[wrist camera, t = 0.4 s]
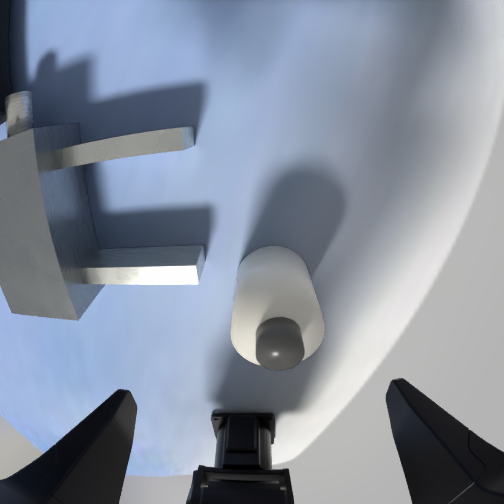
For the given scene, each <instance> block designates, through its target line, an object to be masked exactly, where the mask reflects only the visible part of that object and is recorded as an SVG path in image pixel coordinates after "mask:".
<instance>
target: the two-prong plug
mask: <svg viewBox="0 0 504 504" xmlns="http://www.w3.org/2000/svg"><path fill="white" fill-rule="evenodd" d="M5 108H6V127H7V139H4V140H2V141H0V286H1V288H2V291H3V293H4V296H5V298H6V300H7V303H8V305H9V307H10V310H11V312H12V313H15V314H23V315H31V316H39V317H48V318H58V319H68V320H79V319H80V318H81V316H82V315H83V313H84V312H85V311H86V309H87V308H88V307H89V305H90V304H91V303H92V301H93V300H94V299H95V297H96V296H97V295H98V293H99V292H100V291H101V289H102V288H103V287H104V286H105V284H198V283H199V280H200V277H201V274H202V271H203V267H204V264H205V253H204V245H187V246H162V247H138V248H115V249H99V248H98V244H97V240H96V235H95V231H94V226H93V221H92V216H91V211H90V206H89V200H88V195H87V189H86V182H85V176H84V169H83V165H84V164H89V163H94V162H100V161H106V160H112V159H118V158H125V157H131V156H139V155H146V154H154V153H162V152H171V151H181V150H185V149H188V148H190V147H192V146H195V144H194V129H193V126H191V127H180V128H172V129H164V130H156V131H149V132H143V133H136V134H130V135H124V136H119V137H113V138H108V139H103V140H98V141H93V142H89V143H84V144H80V134H79V123H70V124H61V125H53V126H45V127H38V128H33V115H32V91H21V92H17V93H14V94H11V95H9V96H7V97H6V98H5Z"/></svg>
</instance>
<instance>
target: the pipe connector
mask: <svg viewBox="0 0 504 504" xmlns="http://www.w3.org/2000/svg"><path fill="white" fill-rule="evenodd" d="M9 12H10V0H0V125H1V124H2V123H4V122H5V121H6V108H5V98H6V97H7V96H9V95H11V94H12V93H11V83H10V69H9Z"/></svg>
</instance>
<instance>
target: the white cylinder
mask: <svg viewBox="0 0 504 504" xmlns="http://www.w3.org/2000/svg"><path fill="white" fill-rule="evenodd" d="M324 335H325V322H324V319H323V316H322V313H321V309H320V306H319V303H318V300H317V297H316V294H315V291H314V288H313V285H312V282H311V279H310V276H309V273H308V270H307V267H306V264H305V262H304V261H303V259H302V258H301V257H300V256H299V255H298V254H297V253H296V252H294V251H292V250H290V249H288V248H285V247H281V246H266V247H262V248H259V249H256V250H254V251H253V252H251V253H250V254H248V255H247V256H246V257H245V258H244V259H243V260H242V262H241V263H240V265H239V267H238V270H237V275H236V285H235V294H234V304H233V313H232V323H231V340H232V343H233V345H234V347H235V349H236V350H237V352H238V353H239V354H240V355H241V356H242V357H244V358H245V359H247V360H248V361H250V362H252V363H255V364H257V365H261V366H263V367H264V368H267V369H269V370H274V371H282V370H287V369H290V368H293V367H295V366H296V365H298V364H299V363H300V362H301V361H303V360H305V359H306V358H308V357H309V356H310V355H312V354H313V353H314V352H315V351H316V350H317V349H318V347H319V346H320V344H321V343H322V341H323V338H324Z"/></svg>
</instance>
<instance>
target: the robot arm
mask: <svg viewBox="0 0 504 504" xmlns="http://www.w3.org/2000/svg"><path fill="white" fill-rule="evenodd" d="M386 403H387V408H388V413H389V418H390V423H391V429H392V433H393V438H394V441H395V444H396V448H397V451H398V454H399V457H400V461H401V464H402V467H403V471H404V474H405V478H406V482H407V485H408V489H409V492H410V496H411V500H412V504H504V452H502V451H501V450H499V449H497V448H496V447H494V446H492V445H491V444H489V443H488V442H486V441H485V440H483V439H482V438H480V437H479V436H477V435H476V434H475V433H474V432H472V431H471V430H469V429H468V428H467V427H466V426H464V425H463V424H462V423H461V422H459V421H458V420H456V419H455V418H454V417H453V416H451V415H450V414H449V413H447V412H446V411H445V410H444V409H442V408H441V407H440V406H438V405H437V404H436V403H435V402H433V401H432V400H431V399H429V398H428V397H427V396H426V395H424V394H423V393H422V392H420V391H419V390H418V389H416V388H415V387H414V386H412V385H411V384H410V383H409V382H407V381H406V380H405V379H403V378H398V379H394V380H392V381H391V383H390V385H389V388H388V390H387V393H386ZM136 415H137V404H136V402H135V400H134V398H133V396H132V394H131V392H130V391H129V390H124V389H118V390H117V391H116V392H114V393H113V394H112V395H111V396H110V397H109V398H108V399H106V400H105V401H104V402H103V403H102V404H101V405H100V406H98V407H97V408H96V409H95V410H94V411H93V412H92V413H90V414H89V415H88V416H87V417H86V418H85V419H84V420H82V421H81V422H80V423H79V424H78V425H77V426H76V427H74V428H73V429H72V430H71V431H70V432H69V433H67V434H66V435H65V436H64V437H63V438H62V439H60V440H59V441H58V442H57V443H56V445H53V446H52V447H51V448H50V449H49V450H47V451H46V452H45V453H44V454H42V455H41V456H40V457H39V458H37V459H36V460H34V461H33V462H32V463H30V464H29V465H27V466H26V467H24V468H23V469H21V470H19V471H18V472H16V473H15V474H13V475H12V476H10V477H8V478H6V479H3V480H0V504H119V500H120V496H121V491H122V487H123V482H124V478H125V474H126V469H127V465H128V461H129V457H130V453H131V449H132V444H133V437H134V429H135V422H136ZM211 421H212V425H213V428H214V432H215V436H216V439H217V445H216V455H215V466H214V467H205V466H203V465H199V467H198V470H196V471H194V472H193V480H192V485H191V488H190V492H189V495H188V498H187V501H186V504H294V498H293V492H292V486H291V480H290V475H289V469H288V468H286V469H280V470H272V456H271V444H273V443H274V424H275V416H274V414H271V413H267V414H212V415H211ZM207 486H208V487H207Z"/></svg>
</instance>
